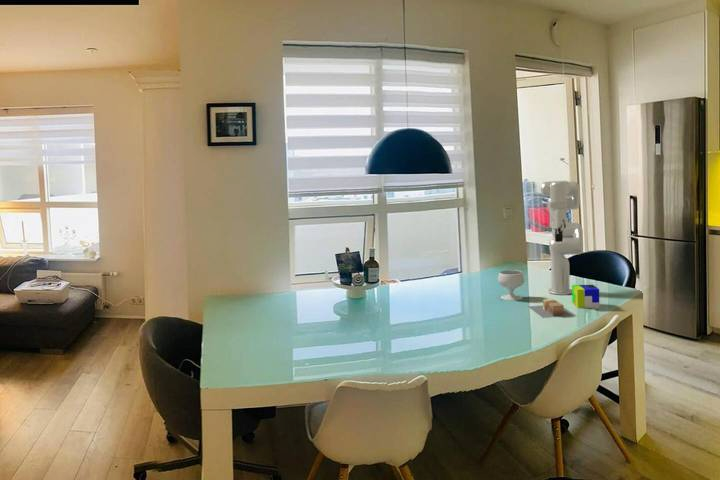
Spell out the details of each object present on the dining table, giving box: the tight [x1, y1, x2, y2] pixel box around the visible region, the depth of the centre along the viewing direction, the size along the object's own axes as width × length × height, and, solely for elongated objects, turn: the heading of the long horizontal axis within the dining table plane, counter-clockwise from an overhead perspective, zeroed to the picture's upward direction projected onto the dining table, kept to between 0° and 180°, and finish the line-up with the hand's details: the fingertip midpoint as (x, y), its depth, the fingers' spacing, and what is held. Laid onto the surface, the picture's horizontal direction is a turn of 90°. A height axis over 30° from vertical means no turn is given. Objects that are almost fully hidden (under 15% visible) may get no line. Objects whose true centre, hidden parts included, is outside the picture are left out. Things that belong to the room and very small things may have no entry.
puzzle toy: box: [571, 284, 600, 310], centre depth 226 cm, size 10×10×10 cm
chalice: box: [497, 269, 525, 301], centre depth 249 cm, size 14×14×15 cm
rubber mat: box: [527, 304, 577, 319], centre depth 221 cm, size 20×16×1 cm
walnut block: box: [542, 298, 565, 316], centre depth 218 cm, size 5×5×12 cm
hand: (558, 241), depth 230 cm, fingers closed
